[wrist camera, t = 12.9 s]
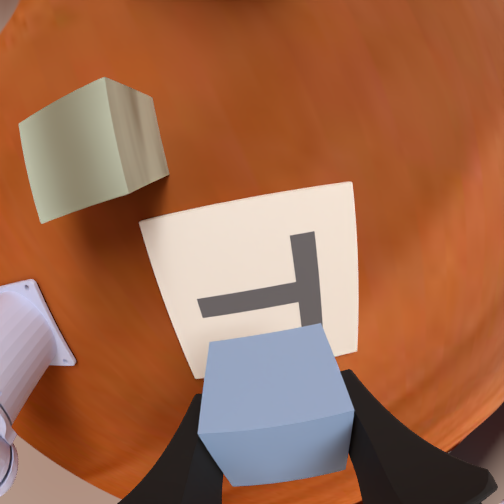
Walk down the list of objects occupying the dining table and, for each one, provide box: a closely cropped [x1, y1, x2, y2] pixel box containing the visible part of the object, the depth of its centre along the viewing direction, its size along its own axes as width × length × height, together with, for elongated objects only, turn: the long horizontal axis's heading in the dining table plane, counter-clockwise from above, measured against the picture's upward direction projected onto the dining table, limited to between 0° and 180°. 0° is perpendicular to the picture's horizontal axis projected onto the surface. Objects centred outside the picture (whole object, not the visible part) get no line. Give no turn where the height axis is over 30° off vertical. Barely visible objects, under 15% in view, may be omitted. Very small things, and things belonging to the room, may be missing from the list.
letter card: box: [139, 182, 358, 379], centre depth 18 cm, size 12×12×1 cm
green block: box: [19, 77, 169, 224], centre depth 11 cm, size 4×4×6 cm
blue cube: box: [198, 323, 354, 486], centre depth 10 cm, size 4×4×4 cm
